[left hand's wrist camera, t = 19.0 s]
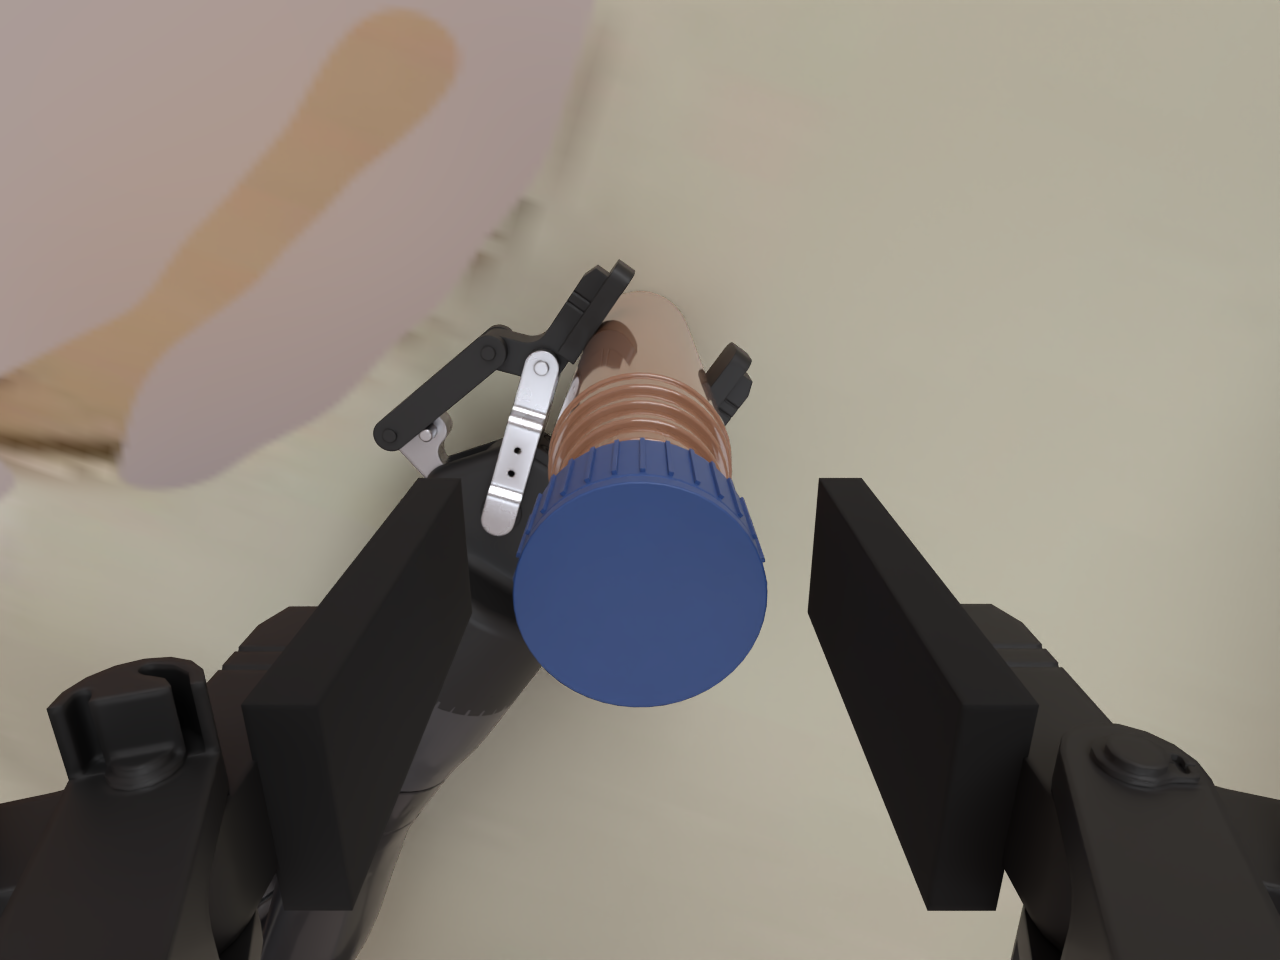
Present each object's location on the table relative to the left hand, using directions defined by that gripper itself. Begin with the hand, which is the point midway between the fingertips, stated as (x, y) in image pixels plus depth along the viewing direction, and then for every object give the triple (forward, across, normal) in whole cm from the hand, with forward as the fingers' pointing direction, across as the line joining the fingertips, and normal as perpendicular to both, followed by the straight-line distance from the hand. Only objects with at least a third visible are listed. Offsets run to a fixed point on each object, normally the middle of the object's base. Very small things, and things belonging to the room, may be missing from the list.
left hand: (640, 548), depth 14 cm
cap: (-2, 0, 0) cm, 2 cm away
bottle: (+21, 0, 0) cm, 21 cm away
